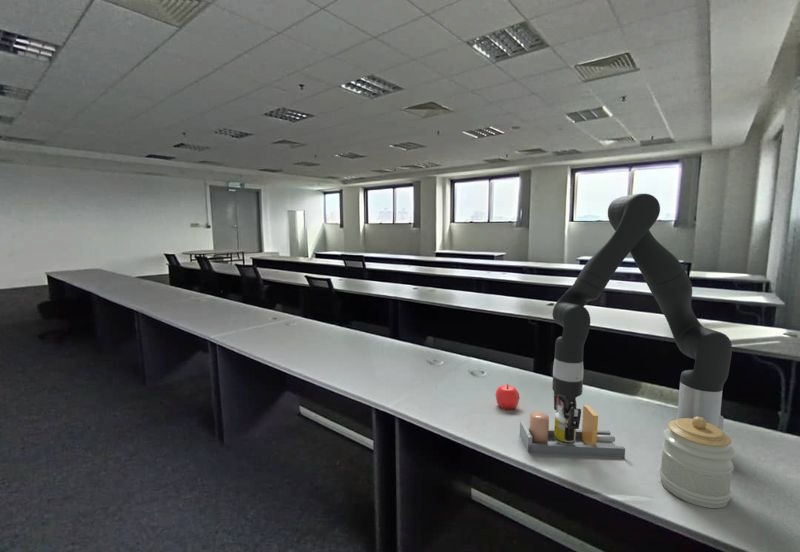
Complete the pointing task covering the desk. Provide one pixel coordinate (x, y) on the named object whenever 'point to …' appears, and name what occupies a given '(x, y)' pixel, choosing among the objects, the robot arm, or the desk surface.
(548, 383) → the desk surface
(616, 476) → the desk surface
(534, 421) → the terracotta jar
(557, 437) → the supplement bottle
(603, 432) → the tray
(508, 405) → the apple
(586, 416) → the pusher plate
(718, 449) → the jar
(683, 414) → the robot arm
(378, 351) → the desk surface
